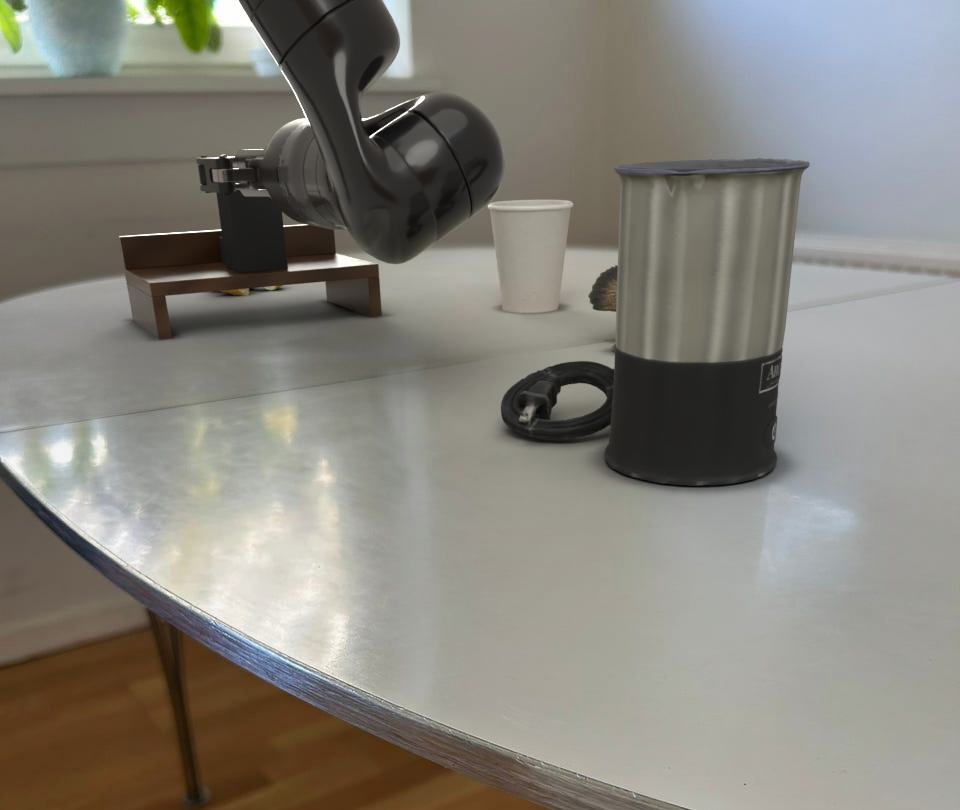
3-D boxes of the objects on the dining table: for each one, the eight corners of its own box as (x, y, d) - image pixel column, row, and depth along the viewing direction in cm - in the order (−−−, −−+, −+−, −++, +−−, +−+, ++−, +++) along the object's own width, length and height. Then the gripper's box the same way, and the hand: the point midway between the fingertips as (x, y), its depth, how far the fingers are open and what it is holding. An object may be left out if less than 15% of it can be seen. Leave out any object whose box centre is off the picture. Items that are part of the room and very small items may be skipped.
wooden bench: (159, 340, 91) (143, 247, 87) (133, 320, 101) (118, 236, 98) (382, 316, 100) (376, 230, 96) (337, 300, 110) (330, 222, 106)
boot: (288, 268, 96) (277, 165, 91) (238, 272, 94) (225, 167, 90) (262, 260, 103) (251, 163, 98) (216, 263, 101) (202, 165, 97)
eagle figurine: (597, 319, 89) (565, 315, 81) (647, 248, 85) (619, 237, 77) (663, 372, 88) (637, 374, 80) (716, 302, 84) (695, 296, 76)
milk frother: (784, 494, 49) (824, 162, 43) (471, 483, 52) (462, 169, 45) (762, 419, 62) (791, 154, 55) (511, 414, 64) (509, 159, 58)
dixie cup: (574, 314, 98) (576, 204, 93) (489, 316, 98) (487, 206, 94) (568, 301, 105) (570, 198, 101) (490, 303, 106) (488, 200, 101)
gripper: (414, 114, 75) (340, 119, 88) (227, 118, 69) (177, 123, 82) (419, 222, 78) (347, 212, 91) (241, 234, 73) (191, 221, 86)
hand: (267, 170), depth 87 cm, fingers open, 8 cm apart
